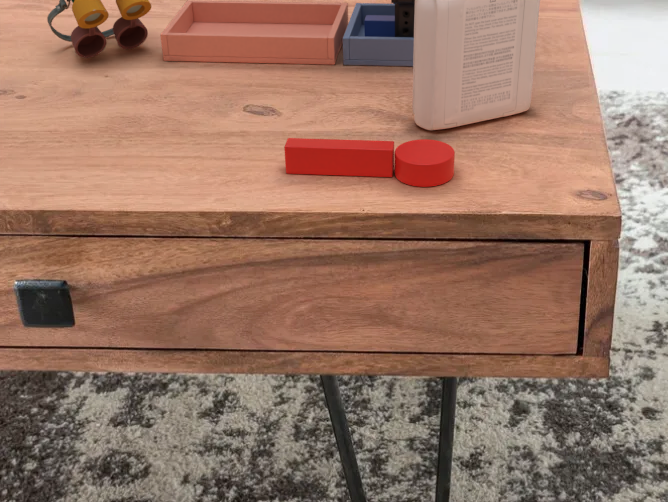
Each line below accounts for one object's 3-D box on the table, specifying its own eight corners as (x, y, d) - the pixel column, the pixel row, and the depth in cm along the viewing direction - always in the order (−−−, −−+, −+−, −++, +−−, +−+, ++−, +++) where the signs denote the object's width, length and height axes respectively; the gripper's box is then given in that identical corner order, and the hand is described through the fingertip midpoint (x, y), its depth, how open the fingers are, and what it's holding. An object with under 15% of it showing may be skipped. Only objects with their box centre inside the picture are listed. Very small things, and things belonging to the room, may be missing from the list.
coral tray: (163, 60, 98) (159, 34, 97) (190, 25, 107) (187, 0, 105) (334, 64, 97) (333, 37, 95) (348, 28, 105) (347, 2, 103)
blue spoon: (362, 48, 98) (362, 25, 97) (368, 32, 102) (367, 10, 101) (497, 51, 97) (498, 27, 96) (497, 35, 101) (499, 12, 99)
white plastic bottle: (510, 95, 90) (520, -56, 83) (538, 112, 87) (552, -43, 79) (404, 118, 86) (405, -37, 79) (429, 137, 83) (433, -23, 76)
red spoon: (282, 182, 77) (280, 154, 76) (292, 156, 81) (290, 129, 80) (452, 188, 76) (453, 160, 75) (455, 161, 80) (456, 134, 78)
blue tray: (343, 64, 97) (342, 38, 95) (356, 28, 105) (355, 2, 103) (521, 69, 95) (523, 41, 93) (520, 31, 103) (522, 5, 101)
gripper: (375, -180, 95) (376, 11, 105) (356, -149, 84) (360, 61, 94) (458, -181, 94) (451, 12, 105) (450, -149, 83) (444, 63, 93)
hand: (408, 34), depth 99 cm, fingers open, 3 cm apart
